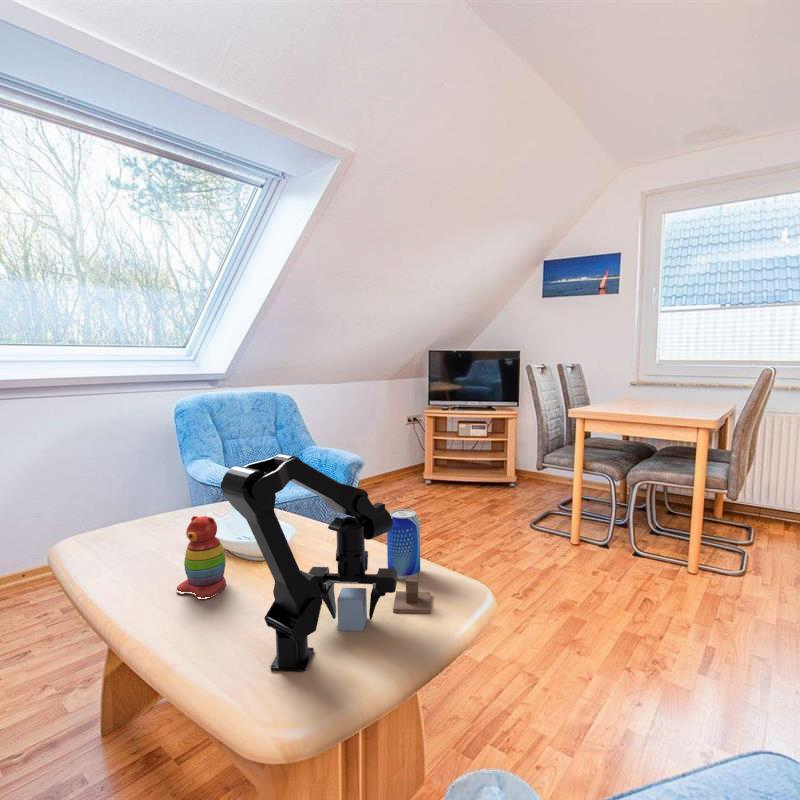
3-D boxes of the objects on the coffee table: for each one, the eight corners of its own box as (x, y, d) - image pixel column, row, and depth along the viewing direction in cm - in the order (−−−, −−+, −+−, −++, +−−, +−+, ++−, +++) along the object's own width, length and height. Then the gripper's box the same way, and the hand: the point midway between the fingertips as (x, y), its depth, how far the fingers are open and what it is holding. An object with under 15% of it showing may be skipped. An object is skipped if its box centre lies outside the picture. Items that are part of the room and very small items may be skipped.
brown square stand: (429, 613, 108) (429, 587, 107) (393, 612, 109) (392, 586, 108) (430, 595, 116) (430, 571, 115) (396, 594, 117) (395, 570, 116)
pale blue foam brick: (363, 631, 102) (362, 600, 101) (338, 630, 102) (337, 599, 101) (367, 617, 107) (366, 588, 106) (343, 616, 107) (342, 587, 106)
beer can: (423, 568, 130) (423, 509, 129) (416, 583, 122) (415, 519, 121) (392, 565, 133) (391, 507, 131) (383, 579, 125) (382, 517, 123)
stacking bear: (172, 593, 119) (167, 521, 117) (205, 575, 128) (201, 508, 127) (205, 601, 115) (201, 527, 113) (237, 583, 124) (233, 513, 122)
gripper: (399, 532, 110) (400, 600, 111) (316, 531, 111) (318, 598, 113) (394, 553, 99) (395, 627, 100) (302, 551, 100) (305, 625, 102)
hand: (352, 618), depth 104 cm, fingers open, 7 cm apart
